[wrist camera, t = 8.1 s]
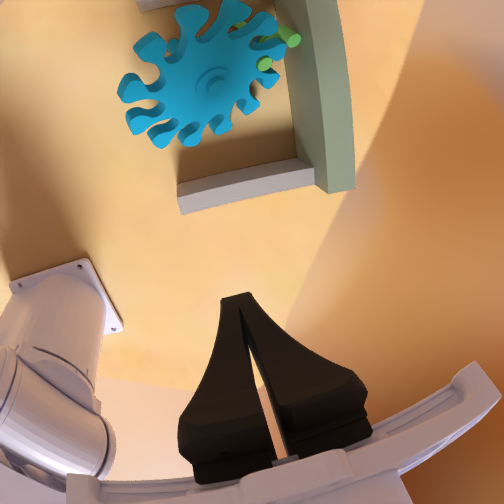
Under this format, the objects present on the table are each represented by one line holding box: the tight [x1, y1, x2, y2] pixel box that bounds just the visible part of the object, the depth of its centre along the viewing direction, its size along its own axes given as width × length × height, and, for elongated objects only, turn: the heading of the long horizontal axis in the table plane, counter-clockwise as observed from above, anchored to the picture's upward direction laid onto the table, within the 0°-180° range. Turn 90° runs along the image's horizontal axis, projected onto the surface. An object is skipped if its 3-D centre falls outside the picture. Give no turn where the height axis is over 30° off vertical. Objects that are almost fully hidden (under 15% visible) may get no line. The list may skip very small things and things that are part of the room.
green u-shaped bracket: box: [136, 0, 355, 215], centre depth 15 cm, size 11×15×5 cm
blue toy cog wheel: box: [117, 0, 301, 149], centre depth 14 cm, size 11×6×10 cm
